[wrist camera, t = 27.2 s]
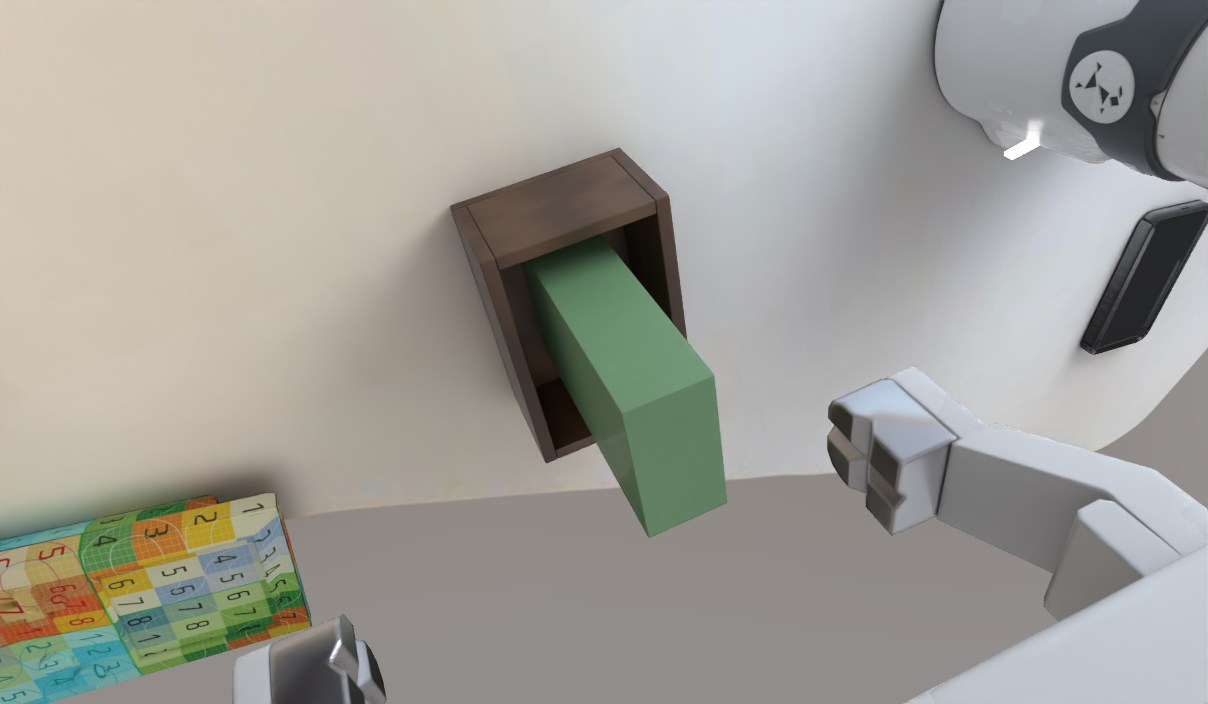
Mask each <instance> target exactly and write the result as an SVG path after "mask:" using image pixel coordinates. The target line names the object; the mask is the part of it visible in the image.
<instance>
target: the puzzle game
mask: <svg viewBox="0 0 1208 704" xmlns="http://www.w3.org/2000/svg"><path fill="white" fill-rule="evenodd" d="M311 626H312V623H311V613H310V610H309V606H308V603H307V599H306V596H305V593H304V589H303V586H302V582H301V578H300V575H299V571H298V568H297V564H296V561H295V558H294V554H293V551H292V547H291V544H290V540H289V537H288V533H287V529H286V526H285V522H284V519H283V515H282V512H281V508H280V505H279V501H278V498H277V494H273V493H261V494H256V495H252V496H248V497H244V498H240V499H236V500H232V501H228V502H224V503H220V504H219V503H218V501H217V498H216V496H201V497H197V498H192V499H187V500H183V501H178V502H174V503H169V504H164V505H160V506H155V507H151V508H146V509H141V510H137V511H132V512H128V513H123V514H118V515H114V516H109V517H105V518H100V519H95V520H91V521H86V522H81V523H77V524H72V525H68V526H63V527H58V528H54V529H49V530H45V531H40V532H35V533H31V534H26V535H22V536H17V537H12V538H8V539H3V540H0V704H46V703H50V702H53V701H57V700H60V699H63V698H67V697H70V696H74V695H77V694H81V693H84V692H88V691H91V690H95V689H98V688H101V687H105V686H108V685H112V684H115V683H119V682H122V681H126V680H129V679H132V678H136V677H139V676H143V675H146V674H150V673H153V672H156V671H160V670H163V669H166V668H170V667H174V666H177V665H180V664H184V663H187V662H191V661H194V660H197V659H201V658H204V657H208V656H212V655H215V654H219V653H222V652H225V651H228V650H232V649H236V648H239V647H242V646H246V645H250V644H253V643H256V642H260V641H263V640H267V639H270V638H274V637H277V636H280V635H284V634H287V633H291V632H294V631H298V630H301V629H304V628H308V627H311Z"/></svg>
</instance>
